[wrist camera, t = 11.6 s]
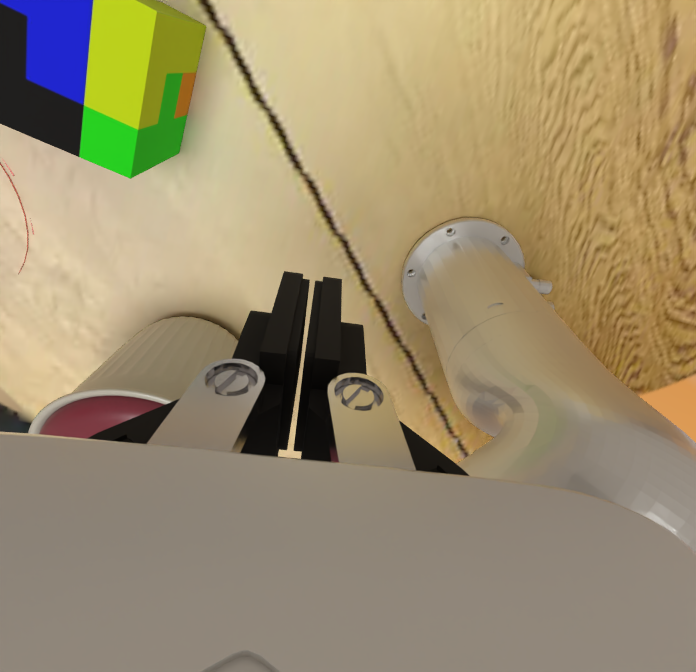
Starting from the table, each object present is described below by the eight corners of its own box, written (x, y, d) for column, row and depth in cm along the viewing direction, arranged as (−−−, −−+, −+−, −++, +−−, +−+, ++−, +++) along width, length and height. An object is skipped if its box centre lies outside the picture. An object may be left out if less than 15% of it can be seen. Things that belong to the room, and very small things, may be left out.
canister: (108, 383, 51) (-16, 549, 33) (135, 262, 42) (-16, 403, 25) (246, 427, 56) (200, 594, 38) (296, 327, 47) (267, 485, 29)
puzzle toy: (68, -48, 29) (-43, -94, 21) (206, 26, 31) (156, 11, 23) (59, 99, 34) (-33, 109, 26) (179, 153, 36) (130, 178, 28)
